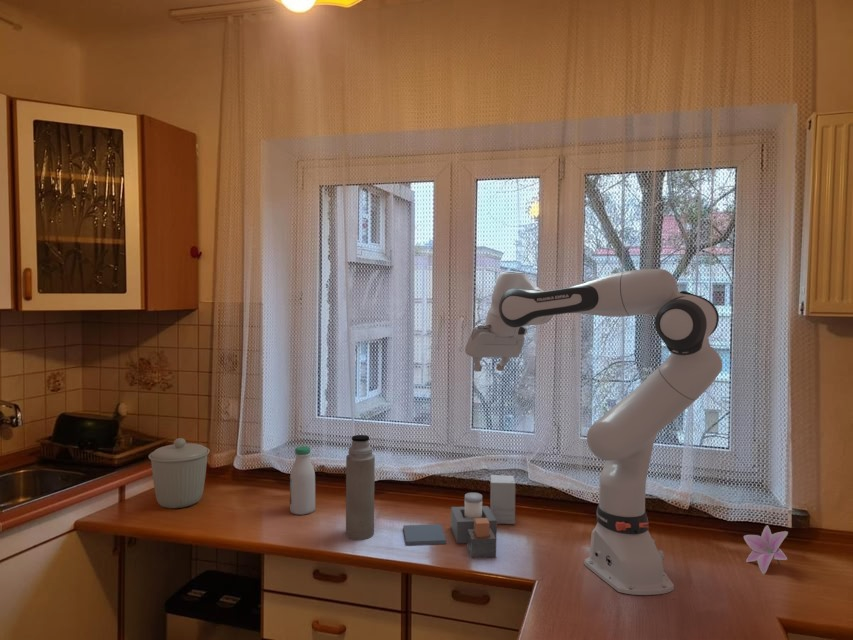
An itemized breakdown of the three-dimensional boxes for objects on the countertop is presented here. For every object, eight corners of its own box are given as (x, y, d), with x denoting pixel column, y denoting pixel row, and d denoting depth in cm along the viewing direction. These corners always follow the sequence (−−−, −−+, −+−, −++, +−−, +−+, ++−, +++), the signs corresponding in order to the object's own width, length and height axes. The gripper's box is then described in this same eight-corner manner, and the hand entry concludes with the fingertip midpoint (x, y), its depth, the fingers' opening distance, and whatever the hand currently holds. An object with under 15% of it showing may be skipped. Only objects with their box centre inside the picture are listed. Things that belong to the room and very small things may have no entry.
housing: (496, 541, 156) (496, 520, 156) (457, 543, 155) (457, 521, 155) (487, 525, 167) (488, 505, 167) (450, 527, 166) (451, 507, 166)
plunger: (489, 545, 148) (489, 523, 148) (476, 546, 148) (476, 523, 147) (486, 540, 151) (486, 518, 151) (473, 540, 151) (474, 518, 151)
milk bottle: (320, 509, 178) (320, 446, 178) (302, 517, 172) (302, 452, 171) (302, 504, 183) (302, 443, 182) (284, 512, 176) (284, 448, 175)
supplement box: (513, 515, 176) (514, 475, 175) (515, 525, 168) (515, 483, 168) (489, 514, 176) (490, 474, 176) (490, 523, 169) (490, 482, 168)
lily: (743, 555, 152) (731, 527, 150) (790, 544, 149) (778, 515, 146) (758, 589, 141) (745, 560, 139) (809, 579, 138) (797, 548, 135)
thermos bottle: (361, 525, 166) (362, 431, 165) (379, 533, 161) (380, 436, 160) (340, 534, 160) (340, 436, 159) (358, 542, 155) (358, 441, 154)
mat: (446, 543, 155) (446, 540, 155) (406, 545, 153) (406, 541, 153) (440, 527, 166) (440, 524, 166) (403, 528, 164) (403, 525, 164)
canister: (170, 491, 193) (170, 430, 192) (220, 495, 190) (220, 433, 190) (136, 511, 175) (135, 444, 174) (190, 515, 173) (190, 447, 172)
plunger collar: (495, 557, 147) (496, 538, 147) (471, 558, 146) (471, 539, 146) (490, 546, 153) (490, 528, 153) (467, 547, 152) (467, 529, 152)
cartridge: (483, 537, 159) (484, 498, 158) (465, 538, 158) (466, 498, 158) (479, 530, 164) (480, 492, 163) (462, 531, 163) (463, 492, 163)
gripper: (482, 328, 153) (470, 375, 156) (531, 329, 166) (519, 373, 169) (467, 320, 157) (455, 367, 160) (515, 323, 171) (504, 366, 173)
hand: (488, 370), depth 165 cm, fingers open, 8 cm apart
